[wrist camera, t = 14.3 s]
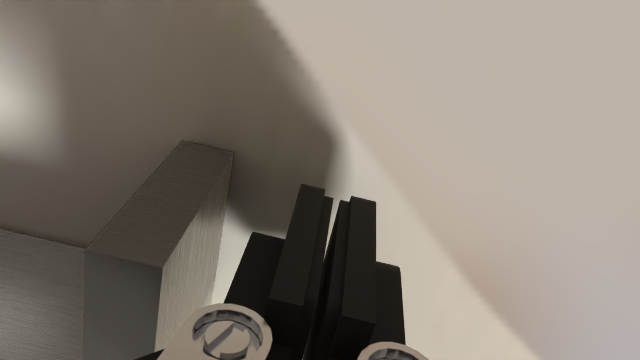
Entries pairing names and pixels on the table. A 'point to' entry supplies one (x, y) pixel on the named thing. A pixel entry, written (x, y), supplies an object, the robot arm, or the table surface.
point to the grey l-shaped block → (120, 269)
